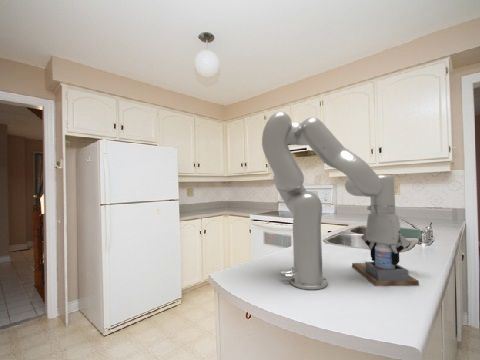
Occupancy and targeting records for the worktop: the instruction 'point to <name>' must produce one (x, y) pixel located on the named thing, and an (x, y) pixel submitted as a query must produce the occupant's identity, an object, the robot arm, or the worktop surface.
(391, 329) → the worktop surface
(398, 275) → the socket
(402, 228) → the bar
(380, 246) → the pill bottle
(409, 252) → the worktop surface
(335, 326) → the worktop surface
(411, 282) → the walnut board
